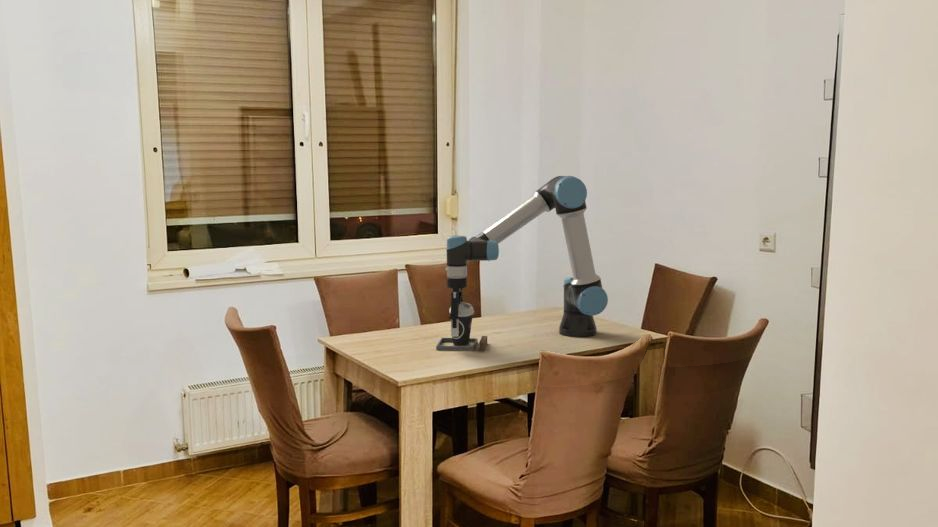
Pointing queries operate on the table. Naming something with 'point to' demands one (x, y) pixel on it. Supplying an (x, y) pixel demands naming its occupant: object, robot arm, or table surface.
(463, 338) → the coffee cup
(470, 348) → the frame
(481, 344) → the edge strip
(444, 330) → the table surface
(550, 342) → the table surface
